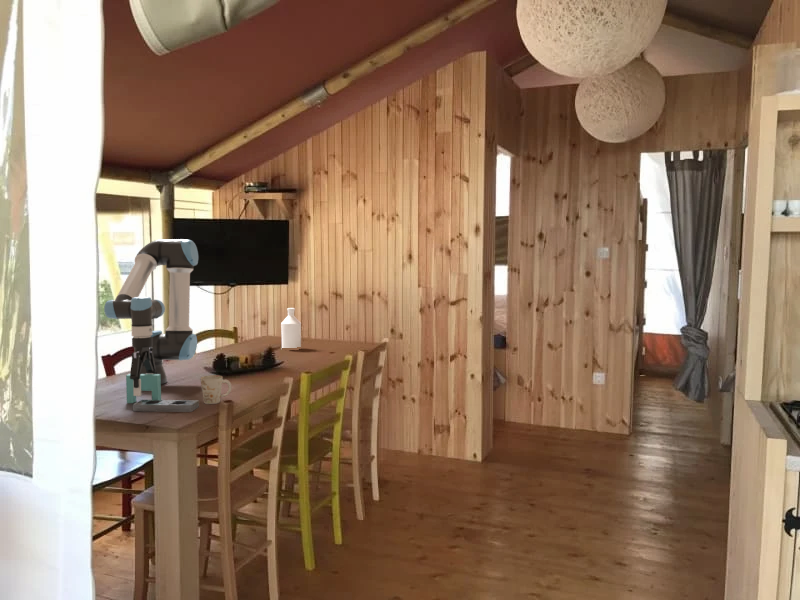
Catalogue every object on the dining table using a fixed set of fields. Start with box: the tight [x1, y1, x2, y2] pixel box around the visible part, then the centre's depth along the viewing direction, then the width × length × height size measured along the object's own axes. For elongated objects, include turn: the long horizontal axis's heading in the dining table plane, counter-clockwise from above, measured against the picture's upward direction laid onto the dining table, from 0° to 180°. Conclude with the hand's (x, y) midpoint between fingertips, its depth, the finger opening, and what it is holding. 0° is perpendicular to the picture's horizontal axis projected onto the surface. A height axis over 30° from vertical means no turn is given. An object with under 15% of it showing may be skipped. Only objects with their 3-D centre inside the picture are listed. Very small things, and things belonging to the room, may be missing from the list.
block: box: [132, 399, 200, 413], centre depth 244 cm, size 22×8×2 cm, turn 88°
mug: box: [200, 374, 232, 405], centre depth 257 cm, size 8×13×10 cm, turn 135°
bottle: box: [280, 307, 302, 349], centre depth 391 cm, size 12×12×25 cm
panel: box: [125, 373, 162, 404], centre depth 255 cm, size 12×3×11 cm, turn 88°
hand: (143, 392), depth 255 cm, fingers open, 10 cm apart
